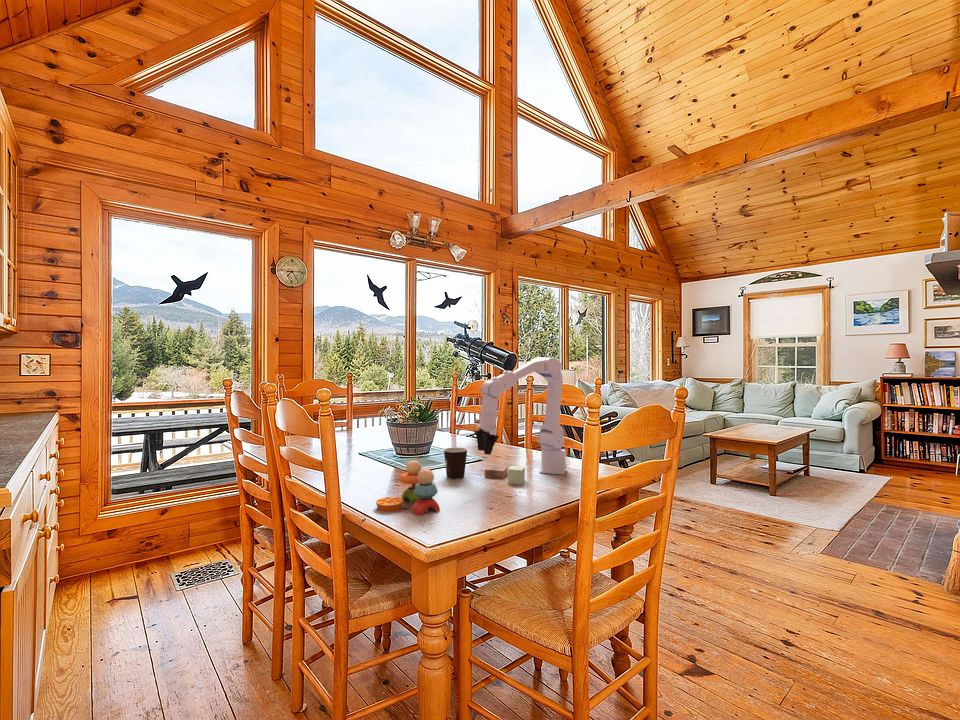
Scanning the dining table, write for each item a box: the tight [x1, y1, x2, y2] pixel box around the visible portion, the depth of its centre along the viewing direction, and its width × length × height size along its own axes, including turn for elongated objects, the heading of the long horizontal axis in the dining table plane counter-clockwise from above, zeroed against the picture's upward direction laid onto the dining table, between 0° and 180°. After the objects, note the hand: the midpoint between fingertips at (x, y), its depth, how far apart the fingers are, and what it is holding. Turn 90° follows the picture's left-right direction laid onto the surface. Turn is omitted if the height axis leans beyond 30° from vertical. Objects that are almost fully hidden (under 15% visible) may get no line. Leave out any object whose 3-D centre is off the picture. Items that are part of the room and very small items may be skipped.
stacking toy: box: [375, 459, 441, 516], centre depth 143 cm, size 18×17×12 cm
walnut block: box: [484, 465, 508, 479], centre depth 181 cm, size 7×7×3 cm
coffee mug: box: [443, 446, 468, 480], centre depth 180 cm, size 12×9×10 cm
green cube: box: [507, 465, 526, 485], centre depth 172 cm, size 5×5×5 cm
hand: (484, 452), depth 172 cm, fingers open, 7 cm apart
